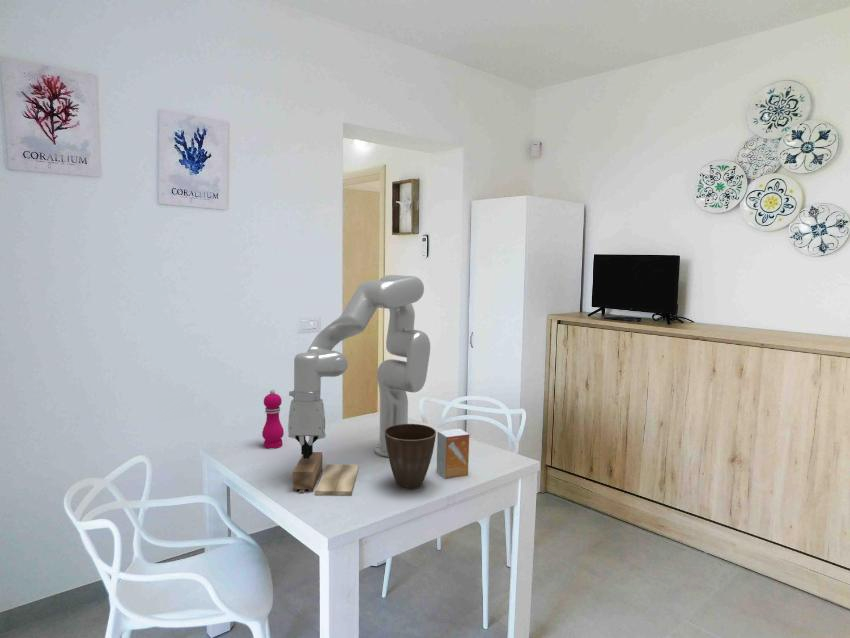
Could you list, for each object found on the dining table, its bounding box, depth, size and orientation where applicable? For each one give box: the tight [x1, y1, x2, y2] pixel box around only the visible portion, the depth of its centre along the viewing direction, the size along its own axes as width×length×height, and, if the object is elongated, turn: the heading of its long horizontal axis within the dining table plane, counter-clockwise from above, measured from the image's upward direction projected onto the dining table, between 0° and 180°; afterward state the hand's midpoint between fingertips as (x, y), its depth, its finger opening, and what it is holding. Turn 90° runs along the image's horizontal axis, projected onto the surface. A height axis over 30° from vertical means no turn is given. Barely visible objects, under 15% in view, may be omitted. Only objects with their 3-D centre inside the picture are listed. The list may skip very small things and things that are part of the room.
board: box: [298, 463, 360, 497], centre depth 162 cm, size 15×20×1 cm
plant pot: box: [385, 423, 437, 490], centre depth 160 cm, size 15×15×16 cm
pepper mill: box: [261, 389, 285, 449], centre depth 191 cm, size 7×7×20 cm
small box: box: [436, 428, 470, 479], centre depth 169 cm, size 8×6×13 cm
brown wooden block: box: [292, 451, 323, 493], centre depth 162 cm, size 6×16×6 cm, turn 1°
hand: (306, 457), depth 161 cm, fingers closed
